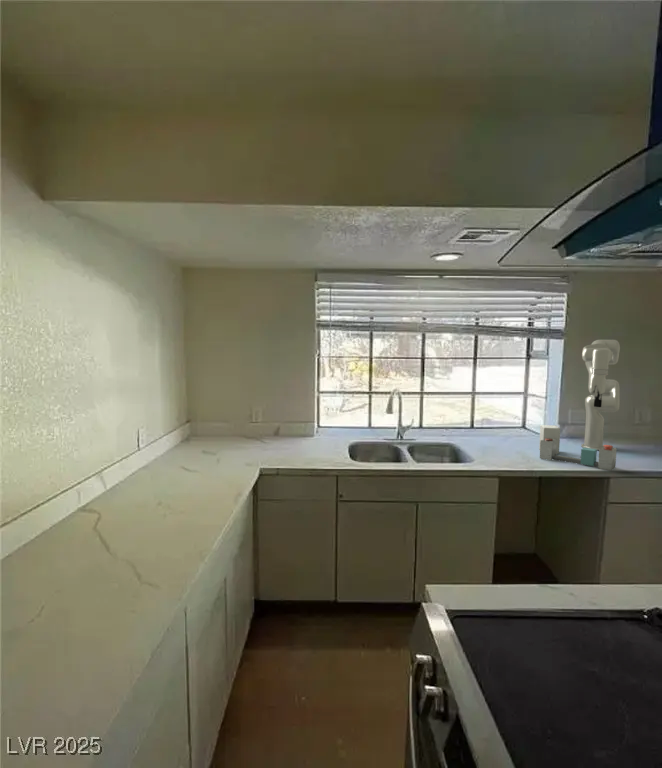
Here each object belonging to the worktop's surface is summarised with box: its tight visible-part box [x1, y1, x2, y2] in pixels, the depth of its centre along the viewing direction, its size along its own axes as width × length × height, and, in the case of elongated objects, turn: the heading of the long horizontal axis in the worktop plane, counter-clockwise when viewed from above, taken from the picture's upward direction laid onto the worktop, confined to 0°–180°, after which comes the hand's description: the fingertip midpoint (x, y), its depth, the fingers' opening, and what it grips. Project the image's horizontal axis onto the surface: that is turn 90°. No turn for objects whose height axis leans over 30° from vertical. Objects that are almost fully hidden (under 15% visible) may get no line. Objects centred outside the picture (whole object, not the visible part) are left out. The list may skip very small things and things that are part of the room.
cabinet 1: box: [539, 438, 557, 461], centre depth 255 cm, size 8×6×11 cm
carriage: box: [580, 447, 598, 467], centre depth 242 cm, size 5×6×8 cm
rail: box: [553, 454, 598, 468], centre depth 246 cm, size 3×22×2 cm, turn 47°
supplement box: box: [538, 424, 561, 455], centre depth 268 cm, size 9×9×15 cm
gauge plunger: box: [603, 444, 614, 450], centre depth 236 cm, size 4×4×5 cm
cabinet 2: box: [597, 445, 617, 471], centre depth 236 cm, size 8×6×10 cm
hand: (597, 406), depth 248 cm, fingers closed
